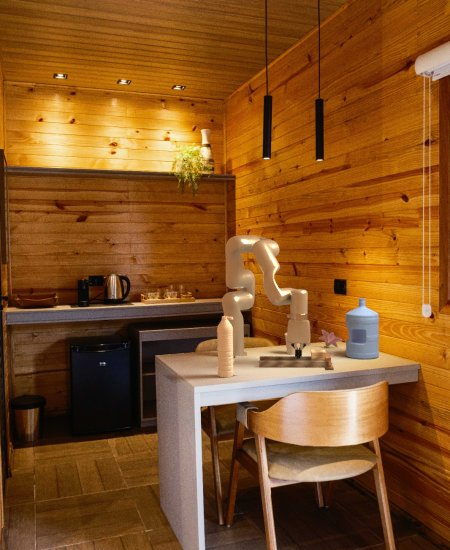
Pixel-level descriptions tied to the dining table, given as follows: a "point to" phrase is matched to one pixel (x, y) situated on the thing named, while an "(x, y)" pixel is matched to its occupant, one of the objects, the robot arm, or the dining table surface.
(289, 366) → the track
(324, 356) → the birch block
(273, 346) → the dining table surface
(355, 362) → the dining table surface
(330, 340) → the lily
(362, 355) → the water jug
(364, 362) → the dining table surface
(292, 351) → the dixie cup
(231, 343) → the water bottle
